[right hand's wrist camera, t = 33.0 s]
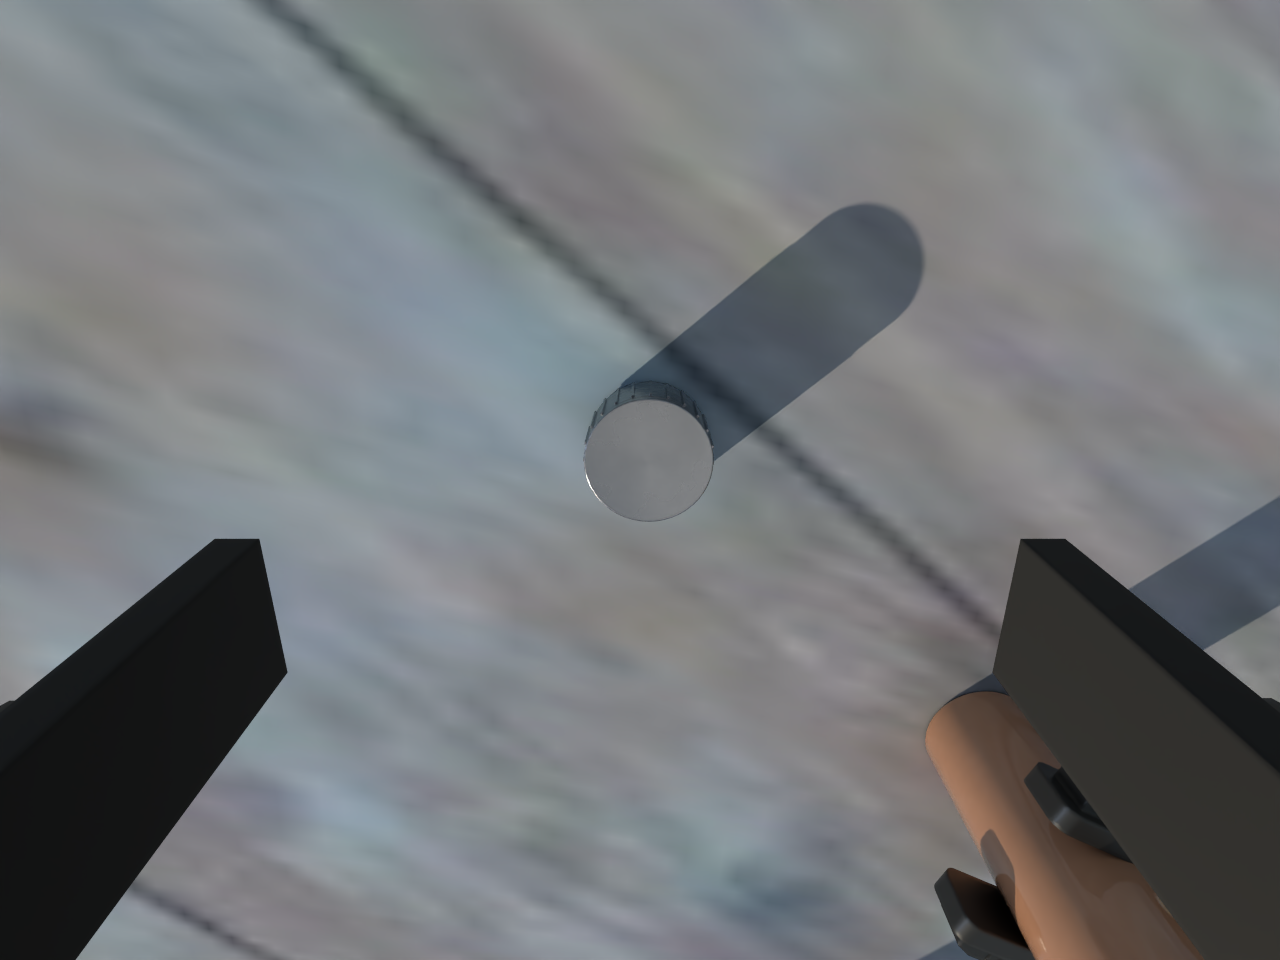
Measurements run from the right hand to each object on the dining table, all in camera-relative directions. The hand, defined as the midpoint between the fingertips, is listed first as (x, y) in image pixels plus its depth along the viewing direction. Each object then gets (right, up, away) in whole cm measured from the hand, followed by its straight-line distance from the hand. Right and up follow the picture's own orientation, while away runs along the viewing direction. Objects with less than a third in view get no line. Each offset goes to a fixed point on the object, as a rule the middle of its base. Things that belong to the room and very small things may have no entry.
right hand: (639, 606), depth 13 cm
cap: (0, +3, +10) cm, 10 cm away
